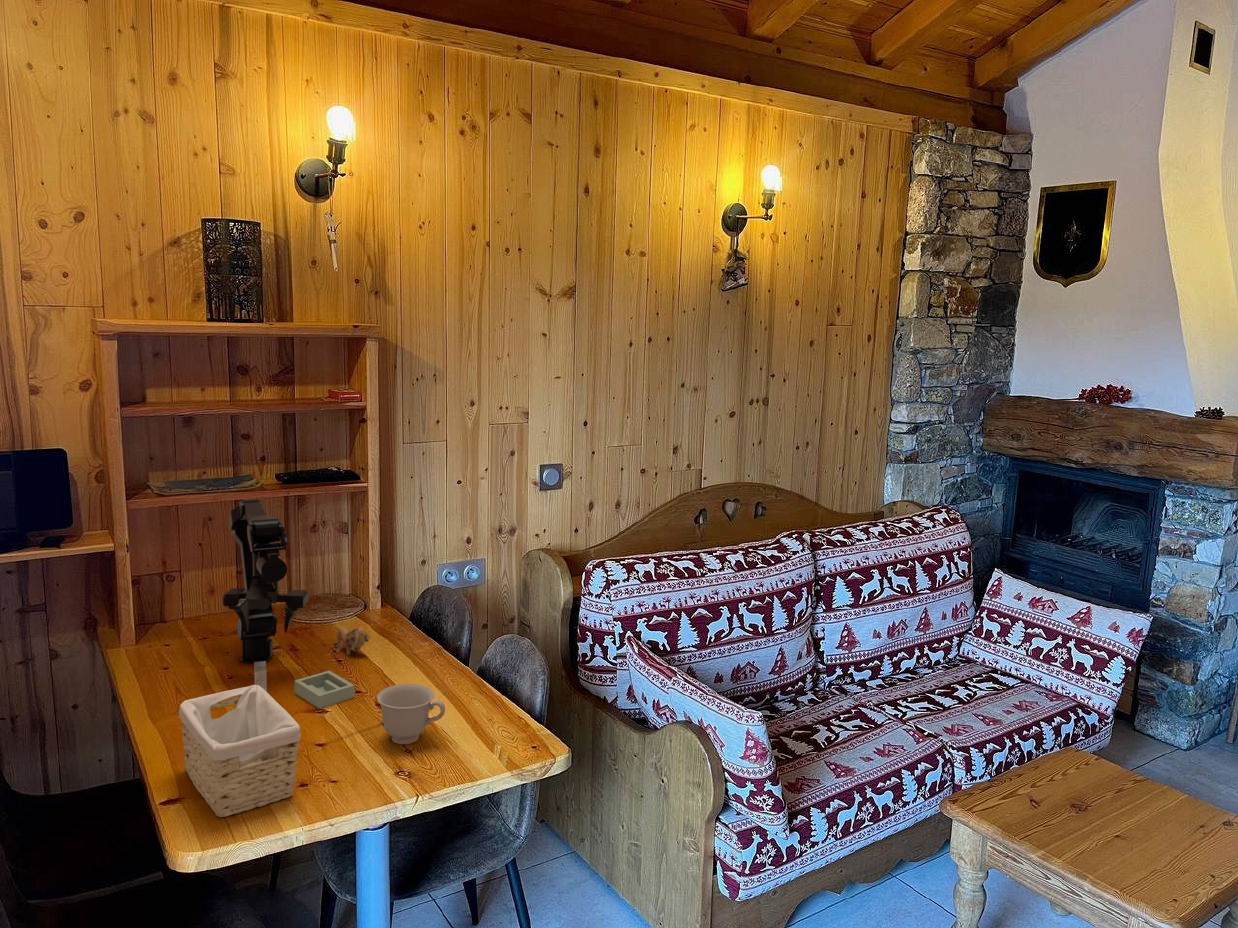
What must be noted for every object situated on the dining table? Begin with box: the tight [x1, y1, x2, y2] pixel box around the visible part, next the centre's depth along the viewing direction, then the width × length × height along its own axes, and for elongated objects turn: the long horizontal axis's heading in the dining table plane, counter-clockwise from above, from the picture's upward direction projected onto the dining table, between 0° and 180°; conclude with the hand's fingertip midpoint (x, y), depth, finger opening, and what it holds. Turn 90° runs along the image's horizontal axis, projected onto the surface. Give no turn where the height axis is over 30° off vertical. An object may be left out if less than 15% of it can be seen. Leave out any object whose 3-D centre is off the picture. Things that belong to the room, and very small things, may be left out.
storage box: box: [294, 670, 355, 710], centre depth 212 cm, size 11×9×4 cm
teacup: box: [376, 683, 446, 745], centre depth 196 cm, size 12×15×10 cm
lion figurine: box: [332, 626, 372, 656], centre depth 239 cm, size 15×5×9 cm, turn 49°
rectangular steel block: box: [253, 661, 268, 693], centre depth 203 cm, size 5×2×11 cm, turn 23°
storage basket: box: [178, 684, 302, 818], centre depth 175 cm, size 24×16×15 cm
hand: (266, 631), depth 221 cm, fingers open, 9 cm apart
